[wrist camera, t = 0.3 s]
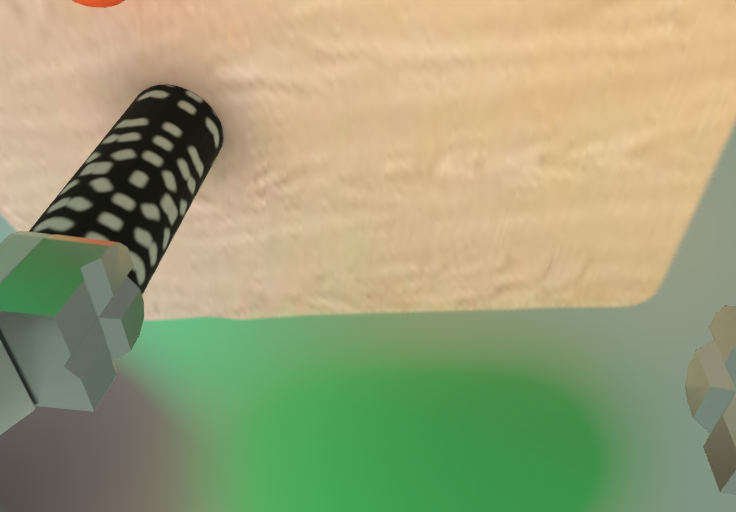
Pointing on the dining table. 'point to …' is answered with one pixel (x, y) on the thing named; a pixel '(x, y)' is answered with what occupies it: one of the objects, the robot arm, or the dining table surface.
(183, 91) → the spotted tube
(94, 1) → the clementine
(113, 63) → the dining table surface
